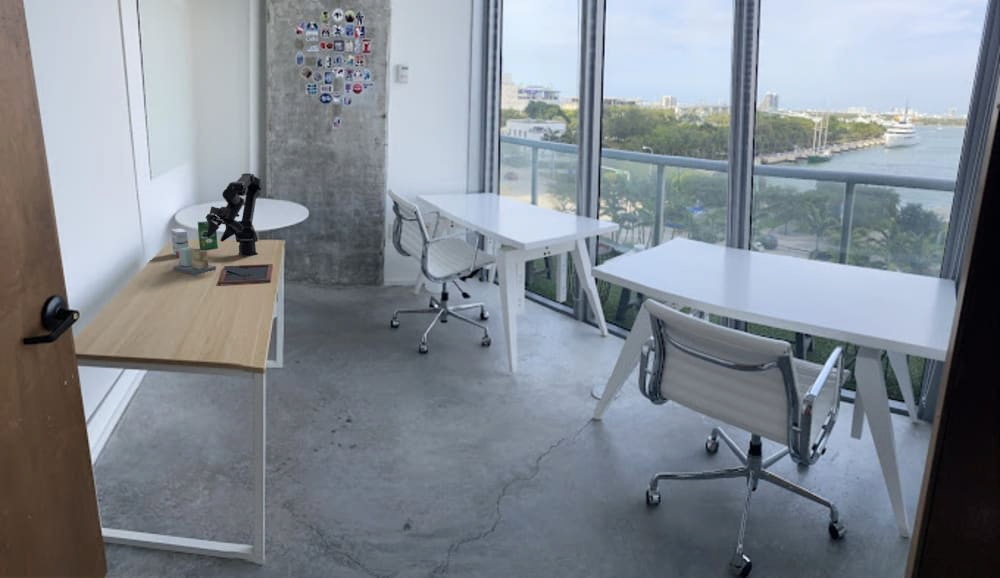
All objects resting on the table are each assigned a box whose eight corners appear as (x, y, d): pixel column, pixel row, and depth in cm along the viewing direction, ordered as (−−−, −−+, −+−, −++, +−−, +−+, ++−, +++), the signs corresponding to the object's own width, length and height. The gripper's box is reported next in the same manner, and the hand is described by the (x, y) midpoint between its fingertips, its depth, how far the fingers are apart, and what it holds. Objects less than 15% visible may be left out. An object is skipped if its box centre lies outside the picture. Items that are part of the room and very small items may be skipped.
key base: (194, 264, 323) (194, 261, 323) (215, 269, 316) (215, 266, 316) (173, 270, 315) (173, 266, 314) (194, 275, 308) (194, 271, 307)
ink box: (190, 256, 337) (187, 231, 334) (178, 257, 334) (175, 232, 331) (184, 252, 343) (181, 227, 340) (173, 254, 340) (170, 229, 337)
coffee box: (217, 246, 354) (215, 220, 351) (218, 248, 352) (215, 221, 348) (199, 248, 351) (196, 221, 347) (200, 249, 348) (197, 222, 345)
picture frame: (224, 270, 318) (218, 286, 295) (224, 265, 318) (218, 281, 295) (272, 267, 323) (270, 283, 300) (272, 263, 323) (270, 279, 299)
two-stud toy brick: (189, 262, 320) (187, 246, 318) (196, 264, 318) (194, 247, 315) (180, 264, 316) (178, 248, 314) (187, 266, 314) (185, 250, 312)
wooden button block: (201, 265, 316) (199, 249, 314) (208, 266, 314) (206, 250, 312) (192, 267, 312) (190, 251, 310) (199, 269, 310) (197, 252, 308)
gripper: (206, 195, 321) (187, 225, 316) (234, 202, 311) (215, 233, 307) (223, 209, 330) (205, 238, 325) (251, 216, 320) (233, 246, 316)
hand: (214, 239), depth 318 cm, fingers open, 9 cm apart
